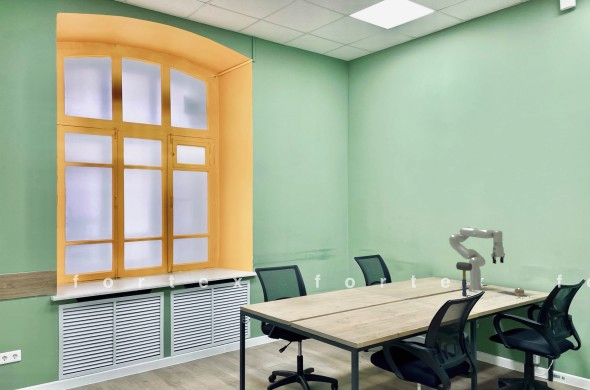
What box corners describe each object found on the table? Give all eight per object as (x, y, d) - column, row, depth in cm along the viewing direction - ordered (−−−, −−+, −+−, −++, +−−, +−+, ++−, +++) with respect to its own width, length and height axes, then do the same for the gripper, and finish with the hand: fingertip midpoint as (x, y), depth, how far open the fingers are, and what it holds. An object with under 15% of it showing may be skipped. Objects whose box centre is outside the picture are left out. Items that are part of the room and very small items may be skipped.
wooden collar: (512, 294, 395) (512, 289, 395) (518, 294, 398) (518, 288, 398) (520, 296, 388) (520, 290, 388) (526, 295, 391) (526, 290, 391)
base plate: (496, 293, 407) (496, 292, 407) (505, 292, 412) (505, 290, 412) (520, 298, 386) (520, 297, 386) (529, 297, 391) (529, 295, 391)
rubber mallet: (473, 296, 396) (472, 262, 396) (468, 297, 391) (468, 263, 391) (460, 294, 405) (459, 261, 406) (455, 295, 400) (455, 261, 401)
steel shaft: (517, 295, 393) (517, 287, 393) (519, 294, 394) (519, 287, 394) (519, 295, 391) (519, 288, 391) (521, 295, 392) (521, 288, 392)
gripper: (495, 245, 397) (495, 264, 397) (508, 244, 405) (508, 263, 405) (487, 244, 404) (488, 263, 404) (500, 243, 412) (501, 262, 412)
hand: (498, 263), depth 404 cm, fingers open, 9 cm apart
